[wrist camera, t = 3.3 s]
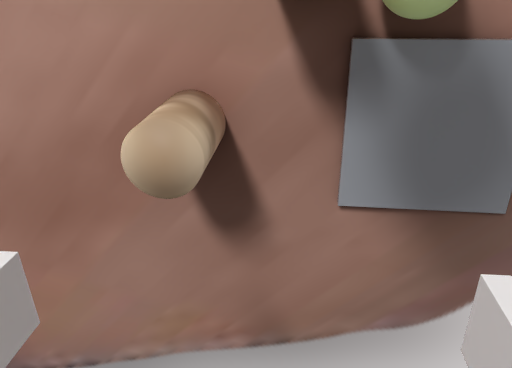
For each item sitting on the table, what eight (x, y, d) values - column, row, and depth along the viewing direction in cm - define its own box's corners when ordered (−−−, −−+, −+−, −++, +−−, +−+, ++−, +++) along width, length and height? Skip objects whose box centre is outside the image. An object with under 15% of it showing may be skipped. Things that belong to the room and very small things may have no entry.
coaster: (337, 201, 30) (337, 205, 29) (351, 37, 25) (352, 38, 25) (501, 209, 29) (505, 213, 28) (549, 39, 24) (554, 40, 23)
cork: (165, 151, 30) (126, 196, 23) (158, 89, 28) (114, 120, 22) (226, 153, 29) (204, 200, 23) (224, 90, 27) (199, 122, 21)
